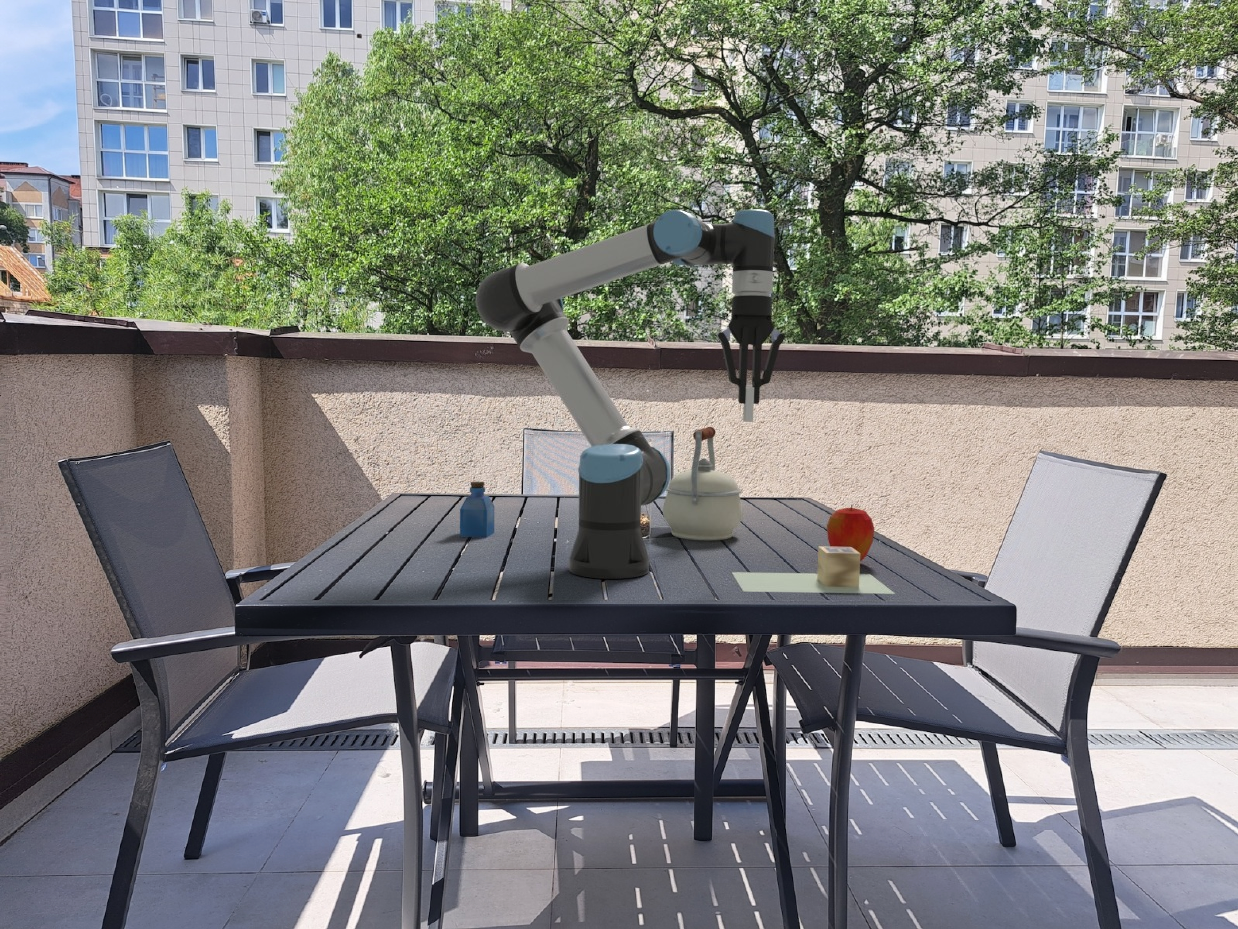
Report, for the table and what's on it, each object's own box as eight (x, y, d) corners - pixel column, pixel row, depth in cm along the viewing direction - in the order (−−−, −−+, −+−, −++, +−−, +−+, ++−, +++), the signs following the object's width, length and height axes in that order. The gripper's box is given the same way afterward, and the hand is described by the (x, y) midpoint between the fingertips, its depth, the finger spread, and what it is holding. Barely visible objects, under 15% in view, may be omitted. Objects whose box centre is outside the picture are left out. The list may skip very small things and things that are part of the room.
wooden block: (860, 553, 159) (858, 587, 160) (851, 546, 165) (850, 579, 166) (826, 552, 159) (824, 586, 160) (818, 546, 165) (817, 578, 166)
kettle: (733, 546, 198) (737, 432, 195) (652, 540, 203) (654, 429, 200) (750, 528, 222) (753, 426, 219) (676, 523, 227) (679, 423, 224)
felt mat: (743, 593, 155) (743, 591, 155) (731, 574, 170) (731, 572, 170) (895, 596, 155) (895, 593, 155) (870, 576, 170) (870, 574, 170)
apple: (822, 558, 187) (824, 500, 185) (867, 559, 186) (869, 501, 185) (829, 567, 177) (831, 506, 176) (876, 569, 177) (879, 508, 175)
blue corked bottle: (468, 531, 210) (468, 480, 209) (494, 532, 209) (494, 481, 208) (460, 536, 204) (460, 483, 203) (486, 537, 203) (486, 484, 202)
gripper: (719, 293, 166) (716, 421, 169) (790, 294, 167) (786, 423, 169) (715, 296, 174) (711, 419, 176) (783, 297, 174) (778, 421, 176)
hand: (748, 421), depth 173 cm, fingers closed
